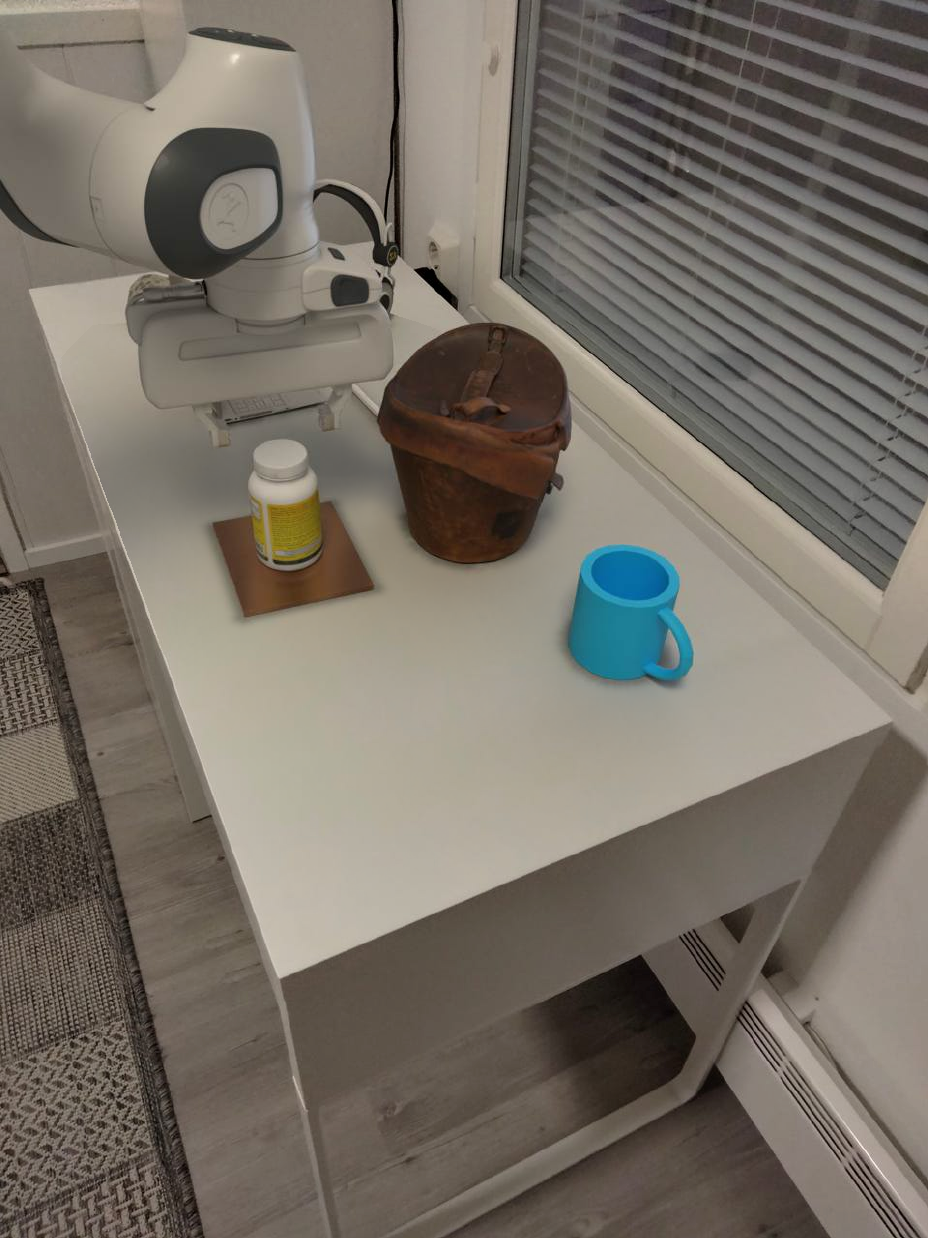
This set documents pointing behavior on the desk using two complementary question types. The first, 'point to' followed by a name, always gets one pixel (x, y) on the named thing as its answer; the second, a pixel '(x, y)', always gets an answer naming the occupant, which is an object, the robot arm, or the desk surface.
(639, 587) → the mug
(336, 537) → the brown wooden coaster
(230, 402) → the laptop
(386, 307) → the headset
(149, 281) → the decorative stone
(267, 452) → the pill bottle
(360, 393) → the pen
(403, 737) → the desk surface
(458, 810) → the desk surface
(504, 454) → the case
